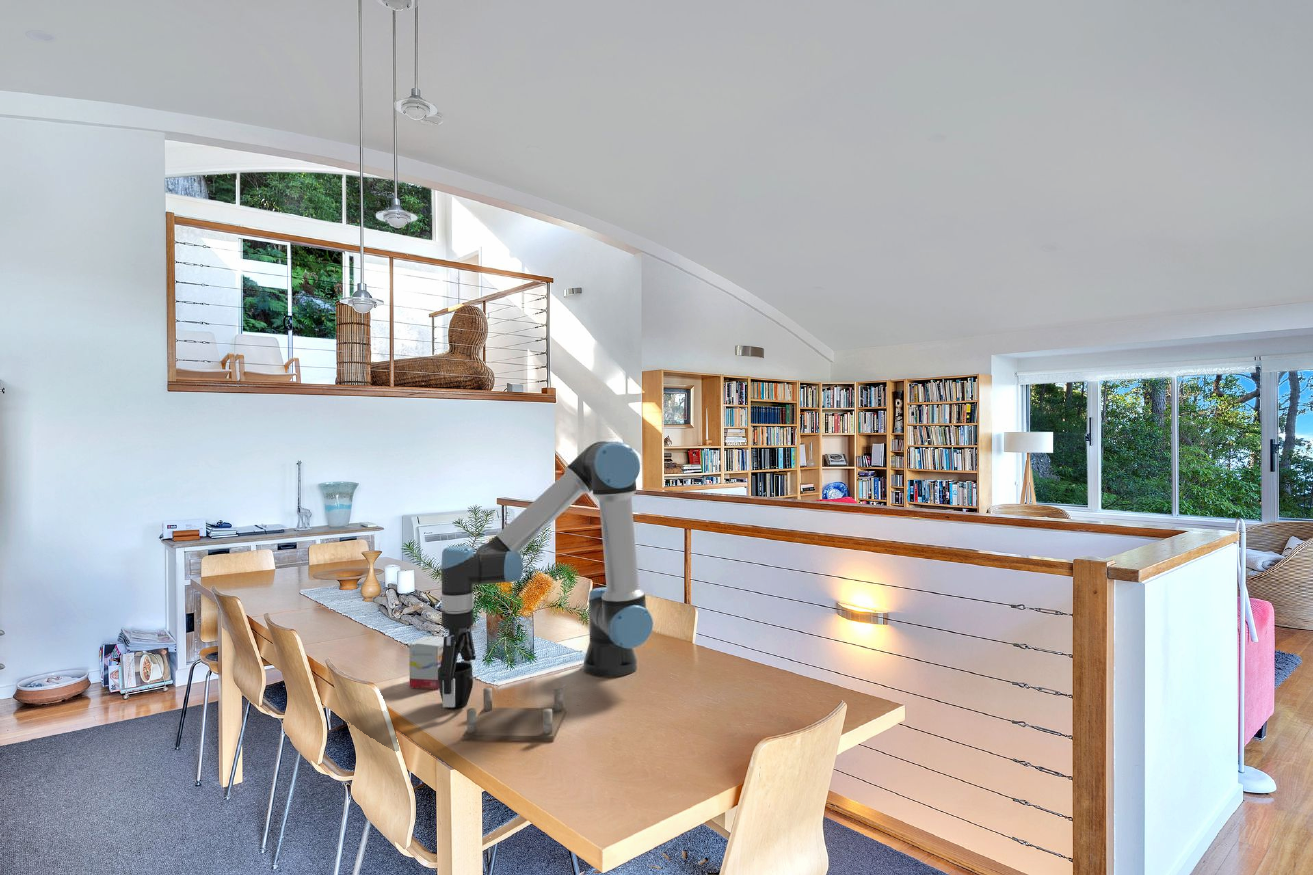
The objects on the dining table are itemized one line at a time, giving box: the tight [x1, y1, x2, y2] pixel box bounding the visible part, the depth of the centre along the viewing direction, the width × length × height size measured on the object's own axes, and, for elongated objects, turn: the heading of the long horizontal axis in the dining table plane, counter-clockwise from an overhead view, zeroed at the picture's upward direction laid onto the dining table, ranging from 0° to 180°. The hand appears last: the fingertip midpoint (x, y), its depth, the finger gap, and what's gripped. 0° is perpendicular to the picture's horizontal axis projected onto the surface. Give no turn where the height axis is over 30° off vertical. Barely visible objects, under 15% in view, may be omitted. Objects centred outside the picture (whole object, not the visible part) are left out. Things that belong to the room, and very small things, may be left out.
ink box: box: [408, 635, 445, 690], centre depth 198 cm, size 9×9×12 cm
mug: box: [438, 661, 474, 711], centre depth 181 cm, size 8×12×10 cm
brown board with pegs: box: [462, 687, 567, 742], centre depth 169 cm, size 20×16×6 cm
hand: (458, 696), depth 181 cm, fingers open, 13 cm apart
